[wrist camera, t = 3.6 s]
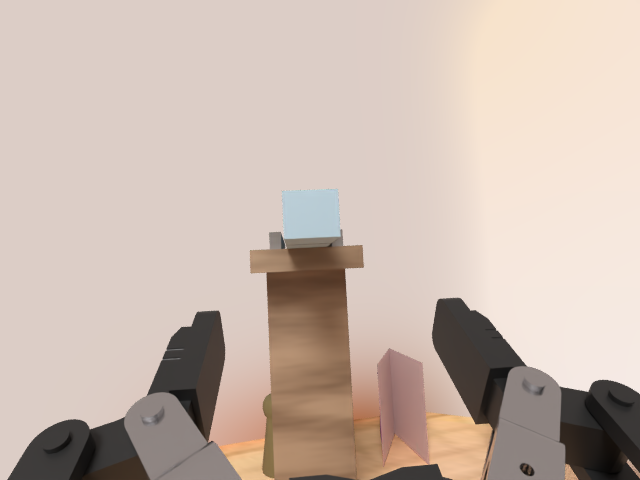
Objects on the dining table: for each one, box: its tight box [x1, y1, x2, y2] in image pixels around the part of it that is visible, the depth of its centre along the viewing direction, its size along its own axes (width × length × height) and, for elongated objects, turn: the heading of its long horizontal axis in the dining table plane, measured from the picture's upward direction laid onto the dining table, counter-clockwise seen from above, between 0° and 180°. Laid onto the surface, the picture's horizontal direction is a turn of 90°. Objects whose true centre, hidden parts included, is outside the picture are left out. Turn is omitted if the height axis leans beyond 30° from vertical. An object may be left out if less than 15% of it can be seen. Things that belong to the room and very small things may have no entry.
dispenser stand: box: [250, 230, 364, 480], centre depth 39 cm, size 18×12×34 cm, turn 4°
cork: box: [262, 394, 275, 478], centre depth 57 cm, size 6×6×11 cm
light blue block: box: [282, 189, 341, 249], centre depth 35 cm, size 24×4×3 cm, turn 4°
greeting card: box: [377, 349, 429, 467], centre depth 60 cm, size 11×7×15 cm, turn 160°
